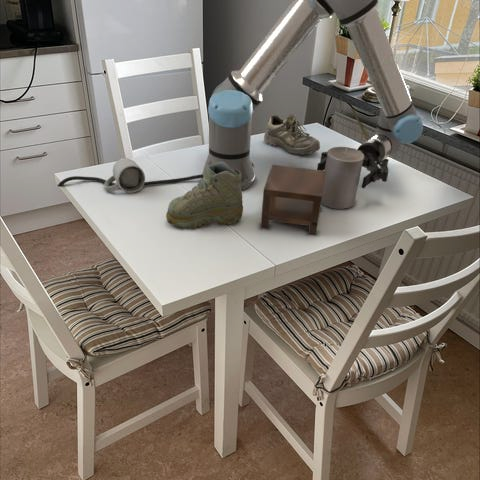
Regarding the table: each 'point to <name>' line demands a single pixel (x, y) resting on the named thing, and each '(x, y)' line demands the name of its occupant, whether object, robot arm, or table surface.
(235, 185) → the sneaker
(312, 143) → the hiking shoe
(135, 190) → the ceramic mug
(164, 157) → the table surface
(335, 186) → the pillar candle
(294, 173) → the shelf rack
